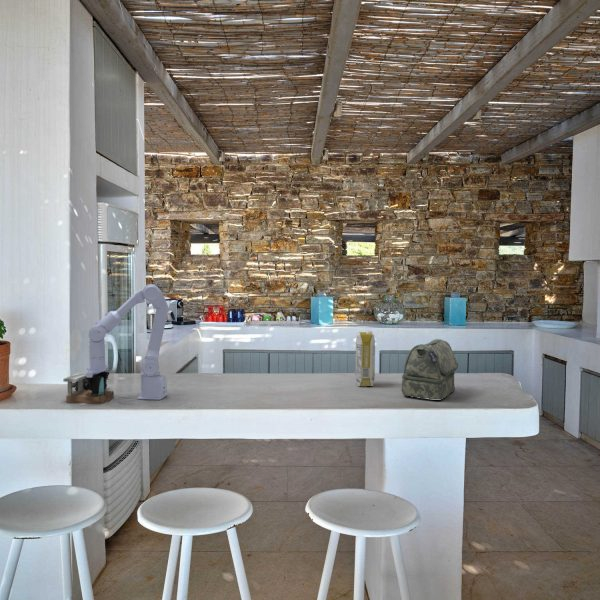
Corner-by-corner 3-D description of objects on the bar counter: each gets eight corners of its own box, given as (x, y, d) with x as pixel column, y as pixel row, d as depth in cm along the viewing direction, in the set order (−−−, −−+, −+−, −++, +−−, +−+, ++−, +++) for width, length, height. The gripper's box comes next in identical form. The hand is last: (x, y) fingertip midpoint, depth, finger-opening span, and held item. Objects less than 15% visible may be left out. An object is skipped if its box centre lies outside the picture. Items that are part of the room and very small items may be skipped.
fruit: (69, 370, 222) (108, 368, 226) (72, 373, 230) (110, 370, 234) (69, 392, 220) (109, 389, 224) (72, 394, 228) (110, 391, 232)
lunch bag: (442, 404, 211) (443, 347, 209) (396, 397, 220) (397, 343, 219) (460, 390, 233) (461, 339, 232) (418, 385, 242) (419, 336, 241)
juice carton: (375, 387, 237) (376, 332, 236) (356, 387, 237) (357, 331, 236) (372, 383, 247) (373, 329, 245) (354, 382, 247) (355, 329, 245)
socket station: (115, 397, 216) (115, 374, 216) (103, 403, 206) (103, 380, 206) (76, 396, 218) (76, 373, 217) (63, 402, 208) (63, 378, 207)
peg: (106, 397, 213) (105, 377, 213) (100, 400, 209) (99, 379, 209) (96, 397, 214) (96, 376, 213) (90, 399, 210) (90, 378, 209)
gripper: (96, 353, 218) (96, 387, 219) (77, 360, 204) (78, 396, 205) (113, 354, 217) (113, 388, 218) (96, 360, 203) (97, 397, 204)
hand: (98, 392), depth 211 cm, fingers closed on peg, 4 cm apart
